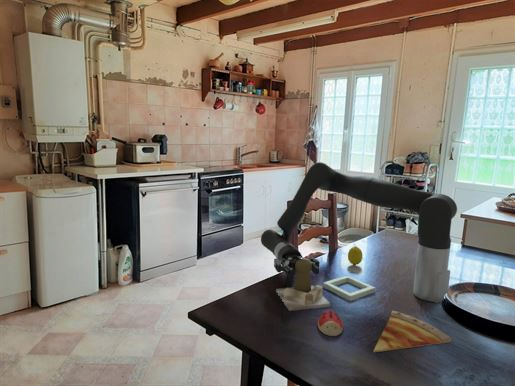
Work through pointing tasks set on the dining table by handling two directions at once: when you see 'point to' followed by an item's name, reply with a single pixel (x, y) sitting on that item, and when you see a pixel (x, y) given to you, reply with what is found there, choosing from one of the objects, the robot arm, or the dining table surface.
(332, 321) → the ladybug figurine
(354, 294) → the block
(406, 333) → the pizza slice
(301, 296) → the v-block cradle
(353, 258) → the lemon
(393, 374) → the dining table surface
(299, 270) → the olive tall tapered post
